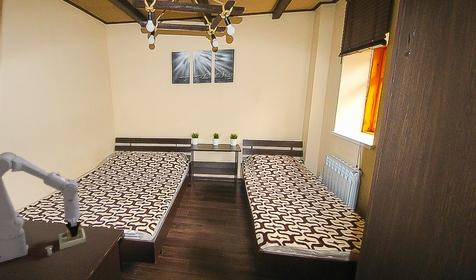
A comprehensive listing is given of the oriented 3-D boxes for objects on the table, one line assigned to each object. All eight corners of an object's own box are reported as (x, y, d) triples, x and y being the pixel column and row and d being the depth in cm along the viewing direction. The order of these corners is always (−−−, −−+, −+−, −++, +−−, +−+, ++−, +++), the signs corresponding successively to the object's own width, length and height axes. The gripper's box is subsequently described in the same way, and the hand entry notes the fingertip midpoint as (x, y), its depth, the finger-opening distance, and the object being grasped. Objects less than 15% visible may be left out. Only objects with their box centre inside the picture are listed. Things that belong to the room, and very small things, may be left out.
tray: (60, 250, 104) (59, 245, 103) (59, 239, 111) (58, 234, 111) (86, 242, 110) (85, 237, 110) (83, 232, 117) (83, 228, 117)
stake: (46, 257, 99) (45, 248, 98) (46, 255, 100) (45, 246, 100) (53, 255, 101) (52, 246, 100) (53, 253, 102) (52, 244, 101)
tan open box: (63, 243, 106) (62, 233, 105) (62, 237, 110) (62, 227, 109) (81, 238, 110) (80, 228, 110) (80, 232, 115) (79, 223, 114)
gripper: (83, 210, 105) (85, 237, 107) (80, 199, 116) (82, 223, 118) (64, 214, 101) (66, 243, 103) (62, 202, 112) (64, 228, 114)
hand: (73, 233), depth 110 cm, fingers closed on tan open box, 5 cm apart
